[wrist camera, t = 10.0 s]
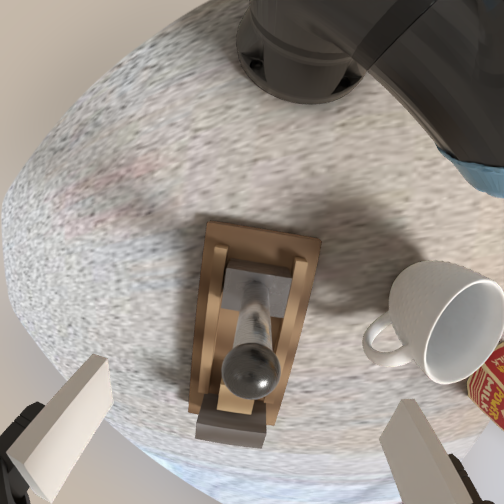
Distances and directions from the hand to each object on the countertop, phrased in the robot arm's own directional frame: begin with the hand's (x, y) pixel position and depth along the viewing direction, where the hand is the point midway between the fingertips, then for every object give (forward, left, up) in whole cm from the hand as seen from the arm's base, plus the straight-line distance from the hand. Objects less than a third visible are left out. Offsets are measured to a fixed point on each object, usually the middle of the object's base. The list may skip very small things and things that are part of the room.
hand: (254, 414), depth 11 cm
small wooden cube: (+14, 0, -21) cm, 25 cm away
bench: (+8, 0, -23) cm, 24 cm away
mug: (0, +19, -23) cm, 30 cm away
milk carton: (+12, +43, -23) cm, 50 cm away
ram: (0, 0, -20) cm, 20 cm away
